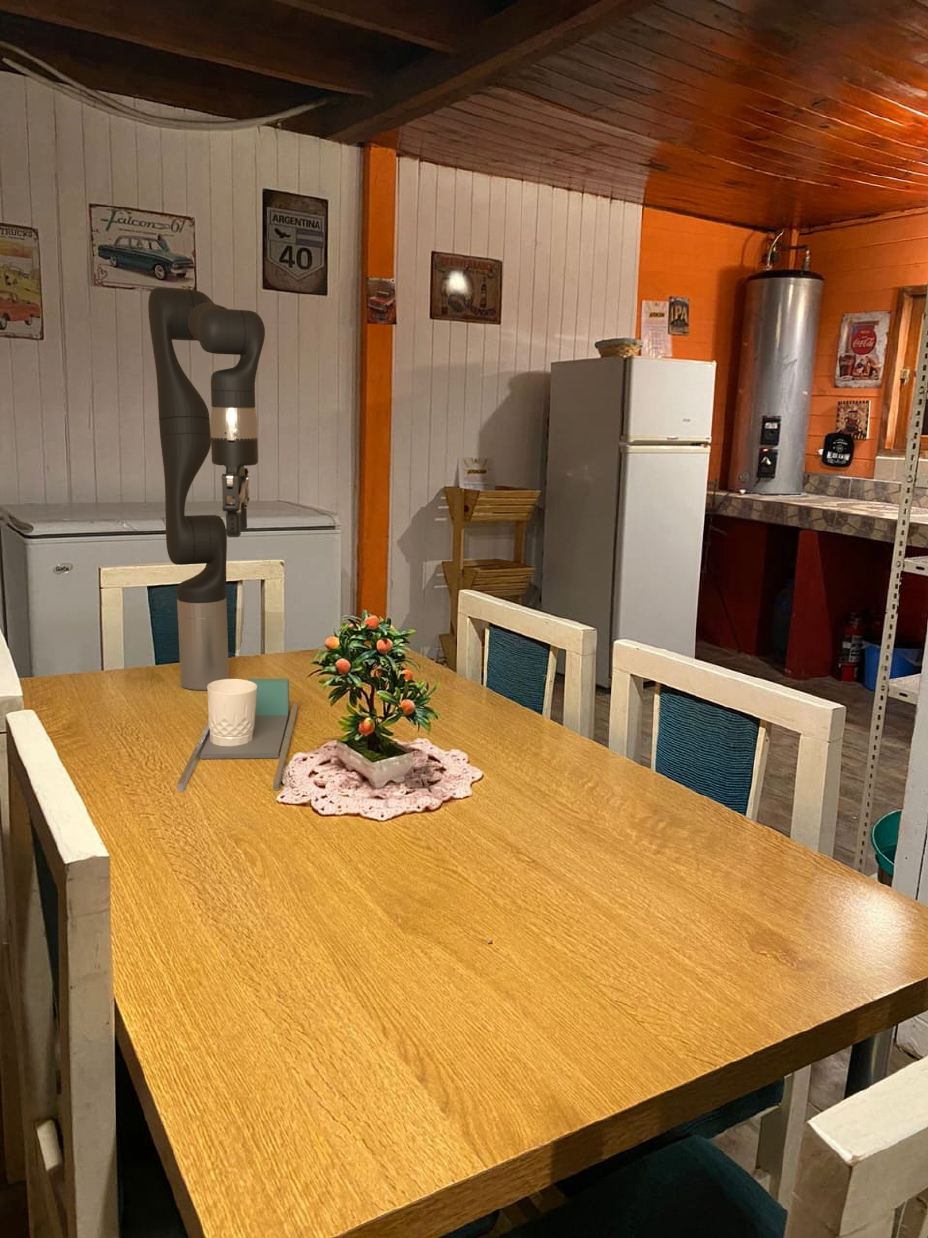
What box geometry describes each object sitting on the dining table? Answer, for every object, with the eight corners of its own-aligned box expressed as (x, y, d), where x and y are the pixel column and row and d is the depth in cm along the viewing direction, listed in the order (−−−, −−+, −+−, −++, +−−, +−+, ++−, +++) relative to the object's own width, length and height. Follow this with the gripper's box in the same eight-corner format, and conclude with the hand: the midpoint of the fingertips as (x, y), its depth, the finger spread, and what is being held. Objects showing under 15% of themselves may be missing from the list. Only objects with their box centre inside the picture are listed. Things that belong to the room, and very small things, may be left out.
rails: (217, 709, 178) (217, 702, 177) (297, 708, 179) (297, 702, 179) (177, 791, 141) (177, 784, 141) (278, 790, 142) (278, 782, 142)
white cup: (199, 750, 157) (200, 691, 154) (216, 733, 164) (216, 676, 162) (247, 755, 156) (248, 695, 154) (261, 738, 164) (263, 681, 162)
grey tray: (221, 714, 175) (220, 677, 173) (289, 713, 176) (288, 677, 174) (201, 758, 153) (199, 717, 152) (278, 758, 154) (277, 717, 153)
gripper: (217, 433, 168) (220, 527, 172) (204, 436, 154) (207, 539, 158) (262, 434, 169) (264, 527, 172) (252, 437, 155) (254, 539, 158)
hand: (237, 533), depth 165 cm, fingers open, 8 cm apart
